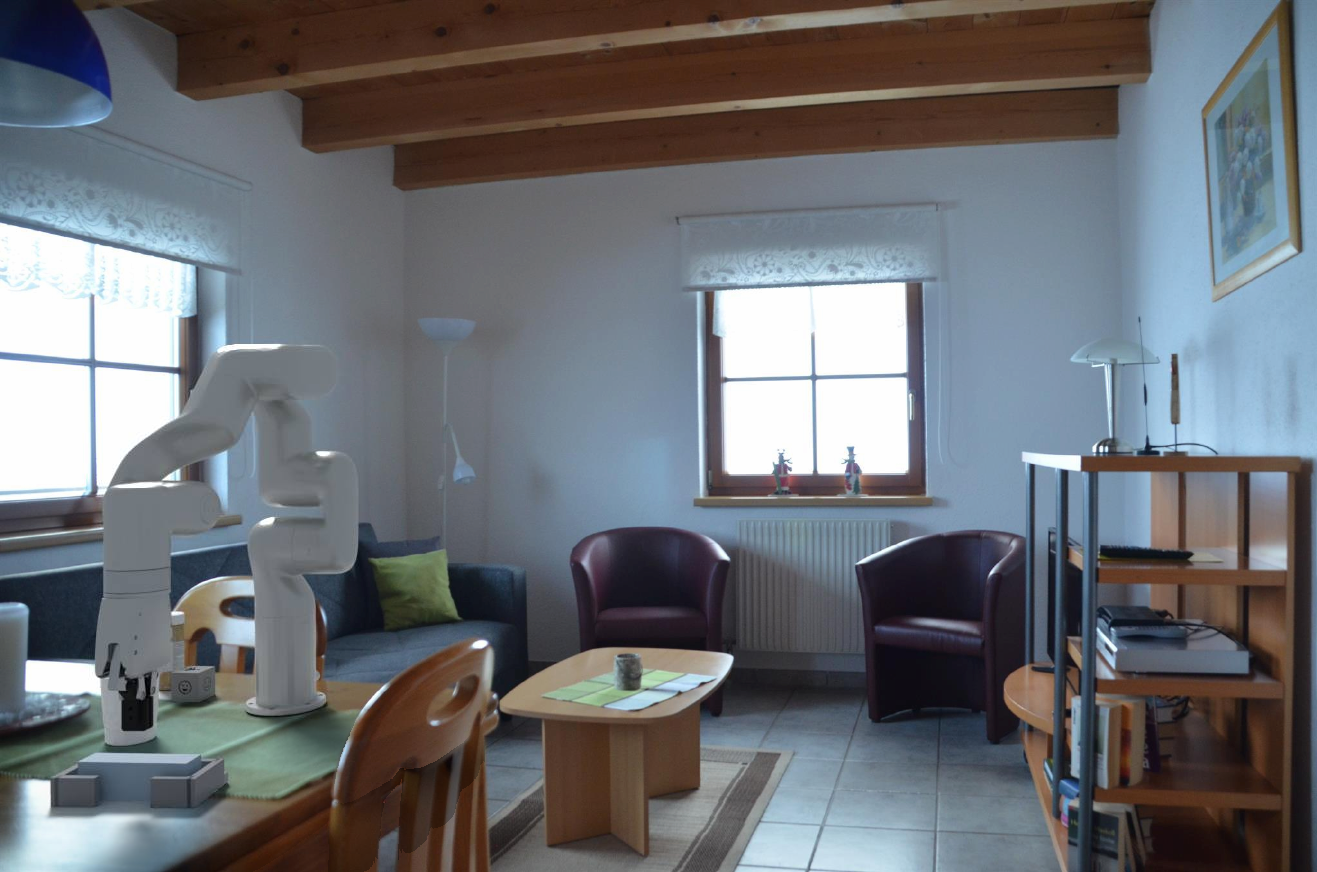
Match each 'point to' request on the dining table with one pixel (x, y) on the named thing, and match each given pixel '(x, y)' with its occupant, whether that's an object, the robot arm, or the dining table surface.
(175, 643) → the sprinkles bottle
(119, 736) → the white cup
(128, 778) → the blue rectangular block
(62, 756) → the dining table surface
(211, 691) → the grey smiley face cube
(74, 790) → the grey rectangular holder
